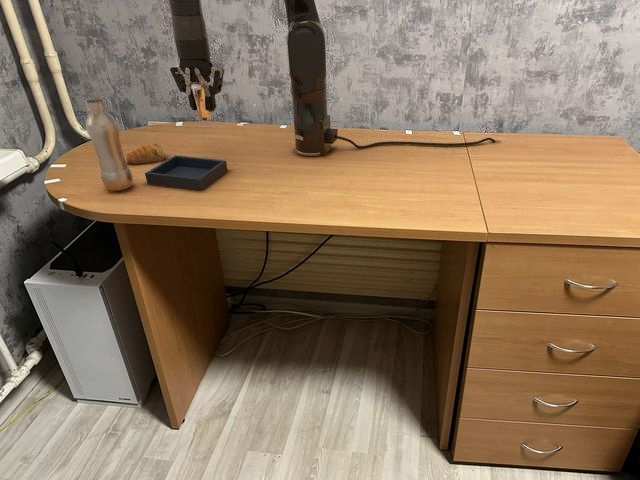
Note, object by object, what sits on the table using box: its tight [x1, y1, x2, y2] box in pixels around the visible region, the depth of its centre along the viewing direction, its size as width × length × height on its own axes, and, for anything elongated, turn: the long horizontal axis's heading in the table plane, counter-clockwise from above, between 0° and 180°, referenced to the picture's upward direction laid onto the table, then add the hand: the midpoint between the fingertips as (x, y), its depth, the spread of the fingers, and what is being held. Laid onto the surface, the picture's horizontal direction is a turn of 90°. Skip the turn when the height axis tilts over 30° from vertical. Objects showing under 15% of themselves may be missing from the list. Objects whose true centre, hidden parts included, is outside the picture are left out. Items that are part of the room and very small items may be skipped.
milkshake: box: [191, 80, 213, 121], centre depth 121 cm, size 4×5×10 cm
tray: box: [144, 154, 229, 192], centre depth 118 cm, size 15×13×3 cm
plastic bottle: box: [85, 98, 134, 191], centre depth 108 cm, size 6×7×20 cm
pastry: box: [125, 142, 166, 165], centre depth 128 cm, size 9×7×4 cm
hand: (203, 110), depth 123 cm, fingers closed on milkshake, 4 cm apart
